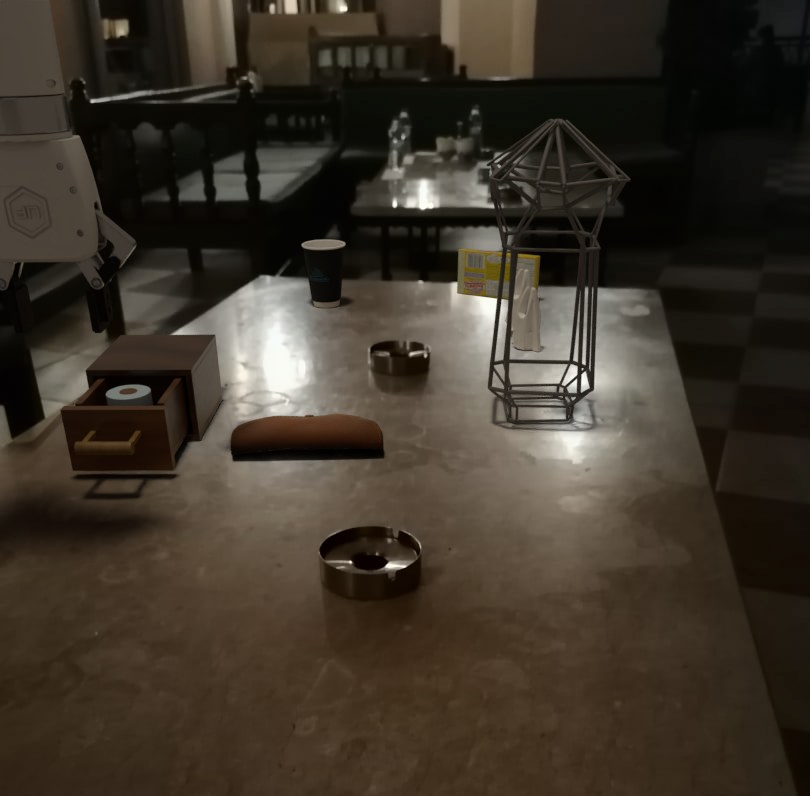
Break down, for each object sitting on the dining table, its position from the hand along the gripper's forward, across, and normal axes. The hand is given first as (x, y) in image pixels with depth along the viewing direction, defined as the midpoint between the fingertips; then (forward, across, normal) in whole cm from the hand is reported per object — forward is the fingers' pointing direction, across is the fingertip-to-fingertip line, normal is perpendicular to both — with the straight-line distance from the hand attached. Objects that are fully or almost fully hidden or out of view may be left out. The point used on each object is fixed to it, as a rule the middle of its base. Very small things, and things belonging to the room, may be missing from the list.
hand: (63, 327), depth 85 cm
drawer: (+19, 0, +13) cm, 23 cm away
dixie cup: (+20, +16, +85) cm, 89 cm away
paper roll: (+18, 0, +15) cm, 23 cm away
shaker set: (+20, +50, +61) cm, 81 cm away
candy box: (+20, +48, +90) cm, 104 cm away
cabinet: (+20, 0, +27) cm, 33 cm away
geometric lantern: (+20, +49, +29) cm, 60 cm away
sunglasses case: (+20, +20, +18) cm, 33 cm away
